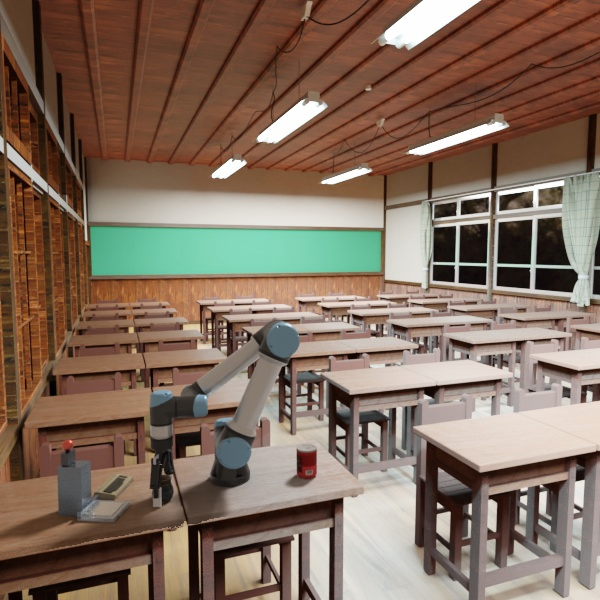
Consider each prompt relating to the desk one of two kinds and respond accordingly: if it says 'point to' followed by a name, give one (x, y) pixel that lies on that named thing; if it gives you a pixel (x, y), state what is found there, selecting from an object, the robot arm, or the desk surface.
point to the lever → (67, 453)
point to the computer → (113, 486)
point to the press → (84, 495)
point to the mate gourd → (166, 488)
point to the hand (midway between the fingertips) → (162, 499)
